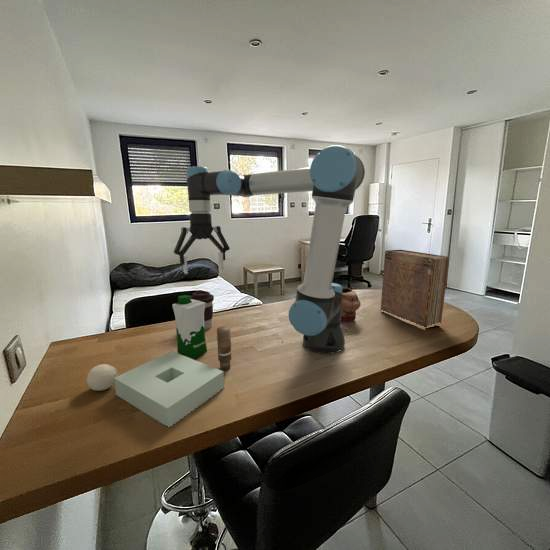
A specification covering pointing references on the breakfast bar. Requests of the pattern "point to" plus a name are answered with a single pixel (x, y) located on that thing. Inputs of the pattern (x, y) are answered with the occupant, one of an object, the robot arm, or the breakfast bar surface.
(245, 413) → the breakfast bar surface
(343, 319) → the decorative planter
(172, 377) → the board
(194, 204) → the robot arm
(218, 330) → the peg
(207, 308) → the coffee cup
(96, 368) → the baseball
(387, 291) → the book
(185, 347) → the milk carton
